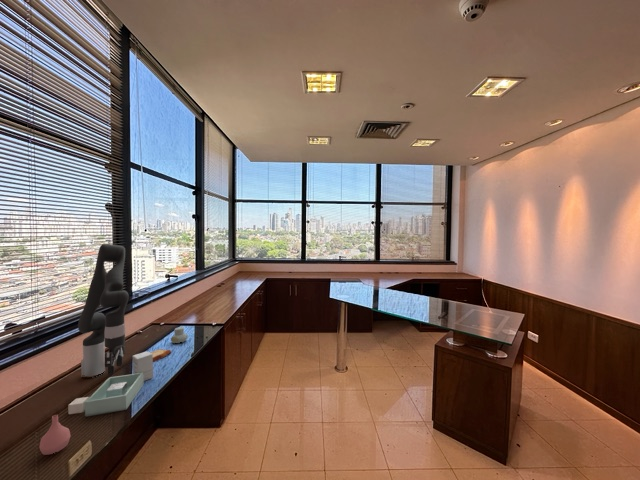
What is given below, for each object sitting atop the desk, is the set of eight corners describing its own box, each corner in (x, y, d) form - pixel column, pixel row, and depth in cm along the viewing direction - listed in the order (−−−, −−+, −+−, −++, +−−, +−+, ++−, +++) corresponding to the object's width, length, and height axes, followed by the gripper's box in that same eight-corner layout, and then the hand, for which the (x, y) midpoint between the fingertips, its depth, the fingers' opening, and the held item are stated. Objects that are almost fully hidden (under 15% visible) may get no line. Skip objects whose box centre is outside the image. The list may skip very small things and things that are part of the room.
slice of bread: (135, 368, 156) (135, 361, 156) (138, 357, 172) (138, 351, 172) (171, 360, 165) (171, 354, 165) (171, 350, 180) (170, 345, 180)
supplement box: (148, 373, 148) (147, 350, 148) (153, 377, 143) (153, 353, 143) (132, 379, 142) (132, 355, 142) (137, 383, 137) (136, 358, 137)
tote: (85, 416, 111) (84, 402, 112) (109, 389, 132) (109, 377, 132) (126, 409, 116) (125, 395, 116) (143, 384, 136) (143, 372, 136)
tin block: (106, 402, 120) (106, 390, 120) (112, 394, 126) (112, 384, 126) (122, 399, 122) (121, 388, 122) (127, 392, 128) (127, 381, 128)
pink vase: (51, 461, 88) (50, 424, 89) (33, 458, 90) (32, 422, 90) (76, 444, 96) (76, 410, 96) (59, 441, 97) (58, 408, 98)
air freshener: (168, 343, 193) (168, 329, 193) (178, 339, 201) (177, 326, 201) (180, 344, 190) (180, 330, 190) (189, 340, 198) (189, 327, 198)
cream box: (68, 414, 113) (68, 405, 114) (76, 407, 118) (76, 398, 118) (82, 412, 115) (82, 403, 115) (89, 405, 120) (89, 396, 120)
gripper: (112, 330, 130) (112, 364, 130) (97, 341, 116) (97, 378, 116) (130, 329, 132) (130, 362, 132) (117, 339, 118) (118, 376, 118)
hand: (115, 369), depth 124 cm, fingers open, 8 cm apart
